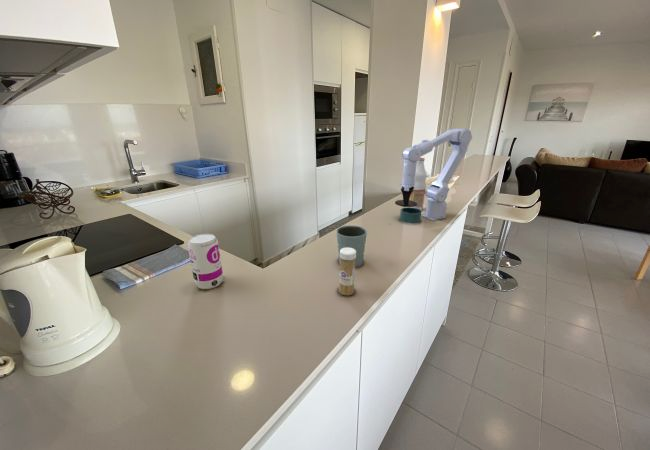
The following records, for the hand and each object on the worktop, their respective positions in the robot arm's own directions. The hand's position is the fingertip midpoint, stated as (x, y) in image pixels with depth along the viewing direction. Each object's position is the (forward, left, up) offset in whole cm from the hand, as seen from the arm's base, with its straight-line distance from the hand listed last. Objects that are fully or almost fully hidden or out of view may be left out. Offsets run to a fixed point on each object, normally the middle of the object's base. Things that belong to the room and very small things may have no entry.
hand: (406, 202), depth 135 cm
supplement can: (+92, +19, -10) cm, 94 cm away
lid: (0, 0, -1) cm, 1 cm away
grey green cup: (+46, +26, -10) cm, 54 cm away
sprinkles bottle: (+56, +41, -10) cm, 70 cm away
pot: (-2, +2, -9) cm, 10 cm away
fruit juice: (-17, -12, -10) cm, 23 cm away
